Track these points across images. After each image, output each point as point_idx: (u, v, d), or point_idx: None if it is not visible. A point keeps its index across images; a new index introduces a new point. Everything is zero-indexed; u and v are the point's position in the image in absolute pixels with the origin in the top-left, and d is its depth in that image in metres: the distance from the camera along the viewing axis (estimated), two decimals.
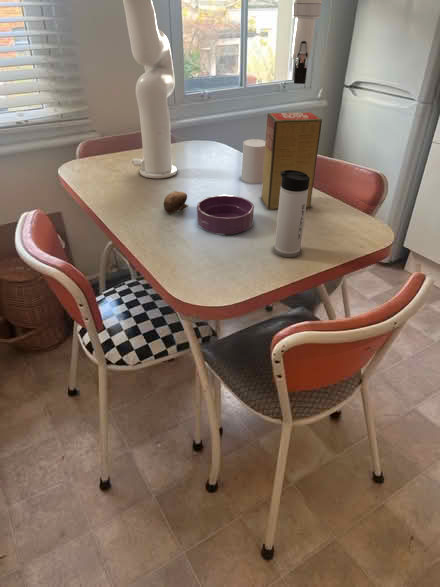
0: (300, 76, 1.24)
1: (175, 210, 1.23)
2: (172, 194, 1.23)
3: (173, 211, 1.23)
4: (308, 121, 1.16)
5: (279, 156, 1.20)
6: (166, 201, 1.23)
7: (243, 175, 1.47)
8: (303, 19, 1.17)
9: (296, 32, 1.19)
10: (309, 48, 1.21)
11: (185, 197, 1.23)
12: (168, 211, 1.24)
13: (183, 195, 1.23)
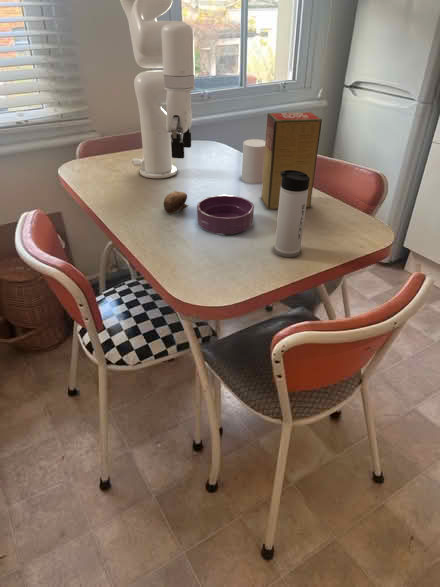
0: (177, 151, 1.13)
1: (175, 210, 1.23)
2: (172, 194, 1.23)
3: (173, 211, 1.23)
4: (308, 121, 1.16)
5: (279, 156, 1.20)
6: (166, 201, 1.23)
7: (243, 175, 1.47)
8: (173, 93, 1.06)
9: (167, 105, 1.08)
10: (183, 122, 1.09)
11: (185, 197, 1.23)
12: (168, 211, 1.24)
13: (183, 195, 1.23)
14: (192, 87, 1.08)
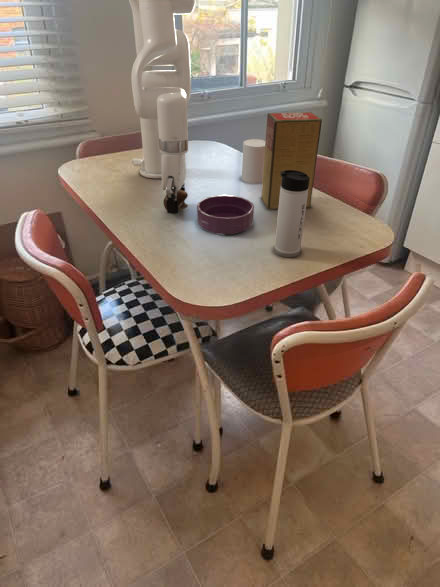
0: (172, 208, 1.21)
1: None
2: None
3: None
4: (308, 121, 1.16)
5: (279, 156, 1.20)
6: None
7: (243, 175, 1.47)
8: (167, 156, 1.14)
9: (162, 167, 1.16)
10: (177, 182, 1.17)
11: (186, 194, 1.23)
12: None
13: (184, 192, 1.23)
14: (185, 150, 1.15)
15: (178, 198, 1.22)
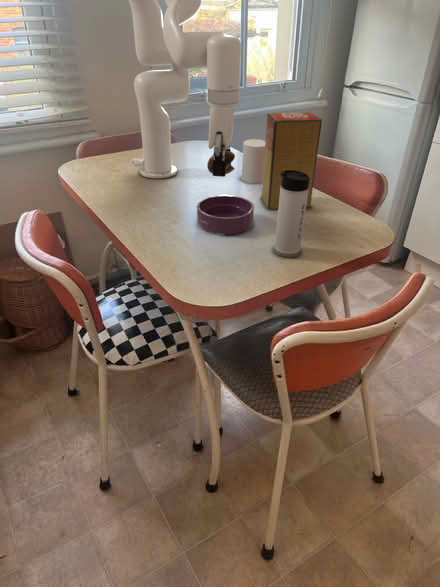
0: (218, 169, 1.08)
1: None
2: None
3: None
4: (308, 121, 1.16)
5: (279, 156, 1.20)
6: (212, 158, 1.10)
7: (243, 175, 1.47)
8: (217, 108, 1.01)
9: (210, 121, 1.03)
10: (226, 139, 1.04)
11: (233, 155, 1.10)
12: None
13: (231, 152, 1.10)
14: (237, 102, 1.02)
15: (225, 159, 1.09)
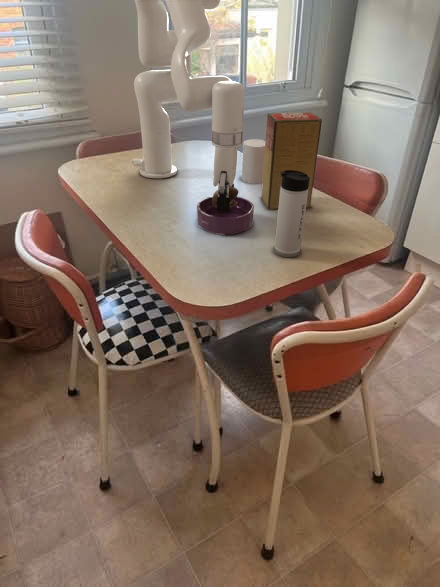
0: (223, 205, 1.13)
1: None
2: None
3: None
4: (308, 121, 1.16)
5: (279, 156, 1.20)
6: (216, 194, 1.15)
7: (243, 175, 1.47)
8: (221, 150, 1.06)
9: (215, 161, 1.07)
10: (230, 177, 1.09)
11: (237, 191, 1.15)
12: None
13: (235, 189, 1.15)
14: (240, 143, 1.07)
15: (229, 195, 1.13)
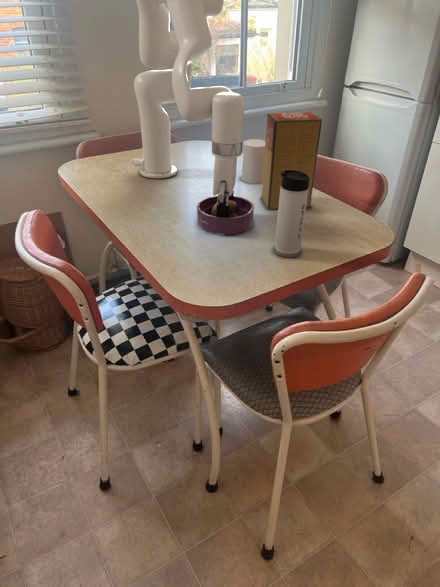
0: (222, 213, 1.14)
1: None
2: None
3: None
4: (308, 121, 1.16)
5: (279, 156, 1.20)
6: (215, 209, 1.17)
7: (243, 175, 1.47)
8: (221, 160, 1.07)
9: (214, 171, 1.09)
10: (230, 187, 1.10)
11: (235, 205, 1.17)
12: None
13: (233, 203, 1.17)
14: (240, 153, 1.09)
15: None
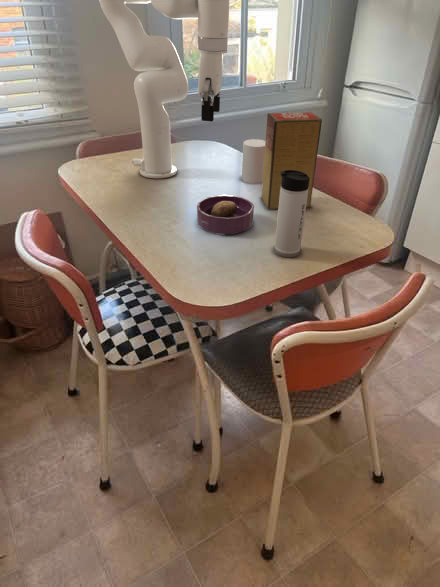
0: (207, 114, 1.15)
1: None
2: (221, 204, 1.17)
3: None
4: (308, 121, 1.16)
5: (279, 156, 1.20)
6: (214, 211, 1.17)
7: (243, 175, 1.47)
8: (206, 55, 1.09)
9: (200, 68, 1.10)
10: (214, 85, 1.12)
11: (235, 207, 1.17)
12: None
13: (233, 205, 1.16)
14: (225, 50, 1.10)
15: (227, 213, 1.15)
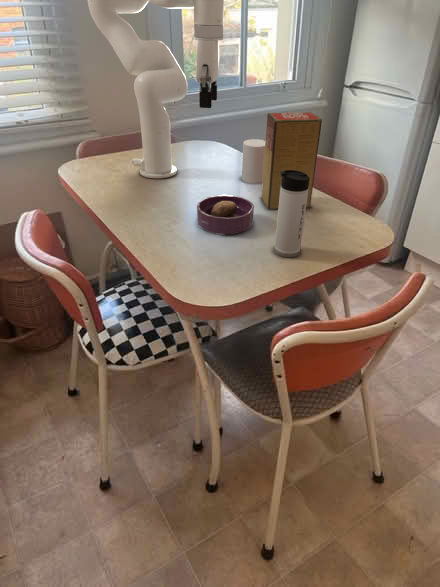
0: (205, 100, 1.17)
1: None
2: (221, 204, 1.17)
3: None
4: (308, 121, 1.16)
5: (279, 156, 1.20)
6: (214, 211, 1.17)
7: (243, 175, 1.47)
8: (203, 42, 1.11)
9: (197, 55, 1.13)
10: (211, 71, 1.14)
11: (235, 207, 1.17)
12: None
13: (233, 205, 1.16)
14: (221, 37, 1.13)
15: (227, 213, 1.15)
